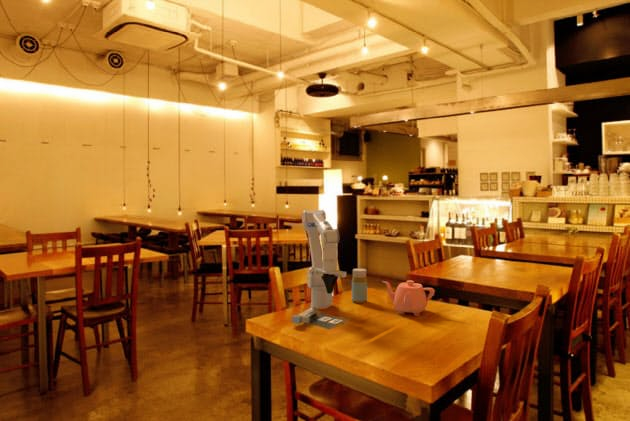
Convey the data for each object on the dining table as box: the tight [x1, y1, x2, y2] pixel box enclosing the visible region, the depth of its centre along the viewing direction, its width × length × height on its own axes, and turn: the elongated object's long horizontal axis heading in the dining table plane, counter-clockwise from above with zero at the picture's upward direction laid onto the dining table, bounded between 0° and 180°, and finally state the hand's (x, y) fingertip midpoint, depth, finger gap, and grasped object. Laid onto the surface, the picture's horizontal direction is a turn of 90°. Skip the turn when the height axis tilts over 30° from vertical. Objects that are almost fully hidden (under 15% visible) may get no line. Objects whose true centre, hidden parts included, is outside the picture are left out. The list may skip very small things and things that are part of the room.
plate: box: [302, 312, 350, 330], centre depth 170 cm, size 14×16×1 cm
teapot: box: [381, 279, 436, 317], centre depth 184 cm, size 16×17×14 cm
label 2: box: [328, 319, 343, 325], centre depth 168 cm, size 5×4×1 cm
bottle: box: [351, 267, 368, 304], centre depth 200 cm, size 7×7×15 cm
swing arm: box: [291, 306, 318, 325], centre depth 169 cm, size 16×3×3 cm, turn 153°
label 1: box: [318, 317, 332, 322], centre depth 171 cm, size 5×4×1 cm
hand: (329, 293), depth 174 cm, fingers closed
